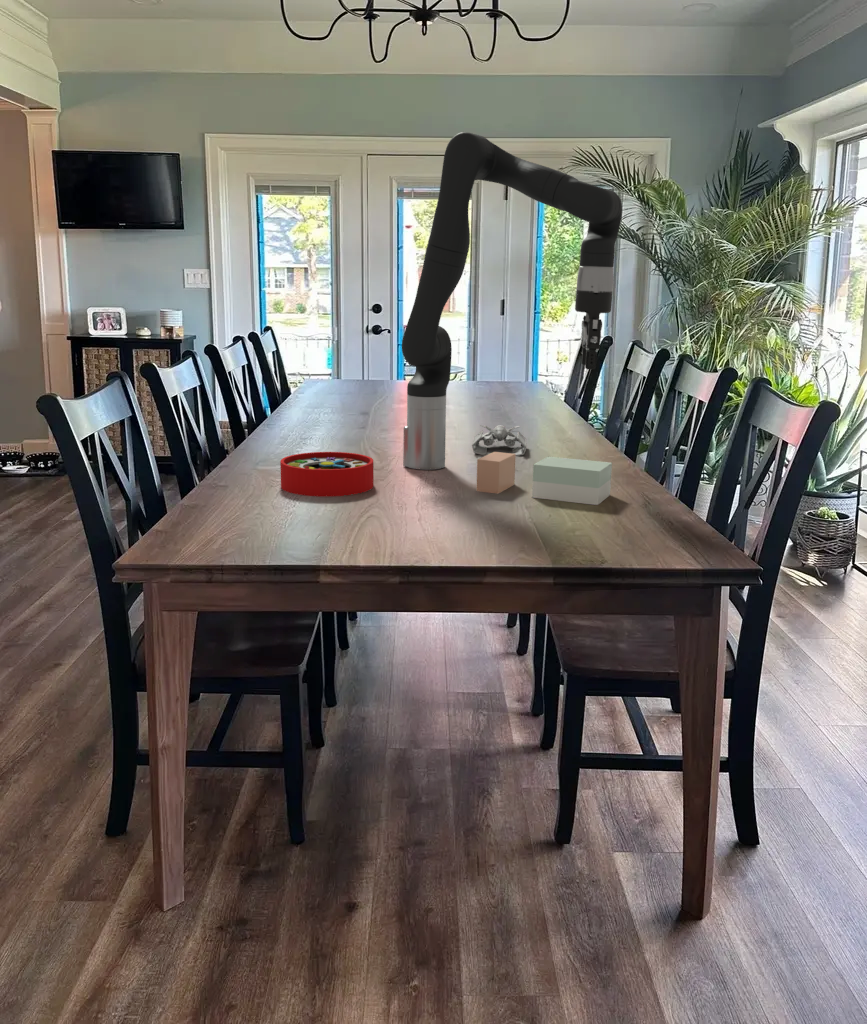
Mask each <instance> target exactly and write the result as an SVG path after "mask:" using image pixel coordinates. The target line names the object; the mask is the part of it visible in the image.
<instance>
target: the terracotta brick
mask: <svg viewBox="0 0 867 1024" xmlns="http://www.w3.org/2000/svg"><path fill="white" fill-rule="evenodd" d="M516 457H517V456H516V454H512V452H511V453H510V452H509V453H508V452H500V451H493V452H491V453H489V454H486V455H483V456H482V457H479V458H477V459H476V461H477V462H476V463H477V466H476V492H479V493H480V492H481V493H490V494H491V493H492V494H498V495H499V494H500V493H503V492H504V491H506V490H507V489H509V488H511V487H513V486H514V485H515V479H516Z"/></svg>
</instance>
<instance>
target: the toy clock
mask: <svg viewBox="0 0 867 1024" xmlns="http://www.w3.org/2000/svg"><path fill="white" fill-rule="evenodd" d="M279 462H280V488H281V489H282V490H283V491H284V492H287V493H290V494H294V495H301V496H305V497H344V495H346V496H352V495H351V494H353V495H358V493H359V494H362V492H363V493H366V492H369V491H370V489H371V490H372V489H373V488H374V458H372V457H370V456H367V455H365V454H360V453H355V452H344V451H314V452H304V453H303V452H302V453H296V454H292V455H288V456H285V457H282V458H281V459H280V461H279ZM368 490H369V491H368Z"/></svg>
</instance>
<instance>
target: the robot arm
mask: <svg viewBox="0 0 867 1024" xmlns="http://www.w3.org/2000/svg"><path fill="white" fill-rule="evenodd" d="M444 151H445V152H444V155H443V156H444V157H443V163H442V170H441V177H440V185H439V193H438V198H437V203H436V207H435V210H434V211H435V212H434V216H433V220H432V224H431V230H430V234H429V237H428V241H427V246H426V250H425V253H424V258H423V263H422V264H423V265H422V269H421V273H420V278H419V280H418V285H417V289H416V294H415V299H414V302H413V305H412V309H411V311H410V314H409V318H408V320H407V324H406V327H405V330H404V333H403V336H402V340H401V352H402V356H403V359H404V360H405V361H406V362H407V363H408V364H409V365H410V366H413V367H415V373H414V375H413V377H412V378H411V379H410V380H409V382H408V383H407V387H406V388H407V389H406V390H407V391H406V394H407V395H406V399H407V400H406V425H405V426H403V441H402V442H403V445H402V446H403V450H402V451H403V452H402V454H403V457H402V458H403V459H402V460H403V463H402V464H403V467H407V468H410V469H413V470H423V471H424V470H426V471H429V470H440V469H443V468H445V467H446V435H447V434H446V432H447V431H446V430H447V429H446V427H447V426H446V425H447V418H446V416H447V389H448V385H449V383H450V381H451V380H450V378H451V370H452V369H451V368H452V350H453V349H452V341H451V337H450V335H449V334H450V333H449V332H448V331H447V330H446V329H445V328H443V326H440V321H441V317H442V315H443V311H444V308H445V307H446V304H447V302H448V300H449V298H450V297H451V296H452V294H453V292H454V290H455V289H456V288H457V286H458V284H459V282H460V280H461V278H462V276H463V273H464V271H465V270H464V269H465V267H466V264H467V259H468V255H469V254H468V253H469V251H470V243H471V237H470V236H471V235H470V234H471V233H470V222H469V221H470V219H469V205H470V200H471V194H472V191H473V187H474V184H475V181H484V182H488V183H489V182H491V183H496V184H500V185H503V186H505V187H508V188H511V189H514V191H515V190H516V191H518V192H519V193H521V194H523V195H524V196H526V197H529V198H530V199H531V200H534V201H536V202H539V203H541V204H544V205H545V206H546V205H547V206H549V207H551V208H554V209H557V210H560V211H564V212H566V213H568V214H570V215H571V216H574V217H576V218H578V219H580V220H582V221H585V222H587V223H588V227H587V233H586V234H587V235H586V237H584V239H583V240H582V242H581V245H580V255H579V267H578V273H577V278H576V291H575V292H576V293H575V305H574V309H575V311H576V312H577V313H585V315H583V317H582V319H583V320H582V321H581V336H580V337H581V338H580V339H581V340H580V341H581V347H582V353H581V364H582V365H584V368H585V369H586V370H596V369H597V361H598V360H597V359H598V358H597V357H598V351H599V350H600V347H601V339H602V330H603V321H602V319H600V315H601V314H609V313H611V312H612V303H613V294H614V291H613V290H614V281H615V280H614V278H615V277H614V274H615V273H614V263H615V253H616V252H615V251H616V242H617V238H618V237H619V231H620V227H621V222H622V217H623V203H622V200H621V198H620V196H619V194H617V192H615V191H613V190H610V189H609V188H608V189H607V188H604V187H600V186H598V185H594V184H591V183H589V182H588V183H587V182H584V181H581V180H578V178H577V177H574V176H572V175H570V174H567V173H564V172H562V171H559V170H557V169H554V168H551V167H548V166H545V165H542V164H539V163H535V162H532V161H528V160H526V159H523V158H520V157H518V156H515V155H514V154H512V153H510V152H508V151H507V150H504V149H503V148H501V147H500V146H498V145H497V144H495V143H494V142H492V141H490V140H489V139H488V138H486V137H484V136H482V135H479V134H476V133H473V132H468V131H461V132H458V133H456V134H455V135H454V136H453V137H451V139H450V140H449V142H448V143H447V146H446V148H445V150H444Z"/></svg>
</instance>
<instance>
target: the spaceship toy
mask: <svg viewBox="0 0 867 1024" xmlns="http://www.w3.org/2000/svg"><path fill="white" fill-rule="evenodd" d="M479 426H480V427H482V428H485V429H486V430H488V432H486V433H484V430H481V431H480V432H478V433H477V434H476V435H475V436H473V440H472V444H471V446H472V451H473V453H474V454H476V455H477V454H478V455H481V456H486V455H487V452H488V447H489V446H492V445H493V444H494V443H495V442H503V443H504V444H505V445H506V446H507V447H513V448H512V450H511V451H512V452H511V453H512V454H516V457H519V456H523V455H525V452H526V450H527V438H526V436H524V434H522V433H521V432H520V431H517V434H515V433H513V432H512V431H513V430H515V429H518V428H521V426H520V425H515V426H513V427H511V428H508V429H507V427H506V426H504V425H502V424H498V425H496V426H494V428H493V429H492V427H490V426H487V425H485V424H480V425H479ZM483 433H484V434H483ZM481 441H483V444H484V445H482V444H480V442H481ZM516 442H518V443H519V444H520V446H516V447H514V446H515V445H516Z"/></svg>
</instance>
